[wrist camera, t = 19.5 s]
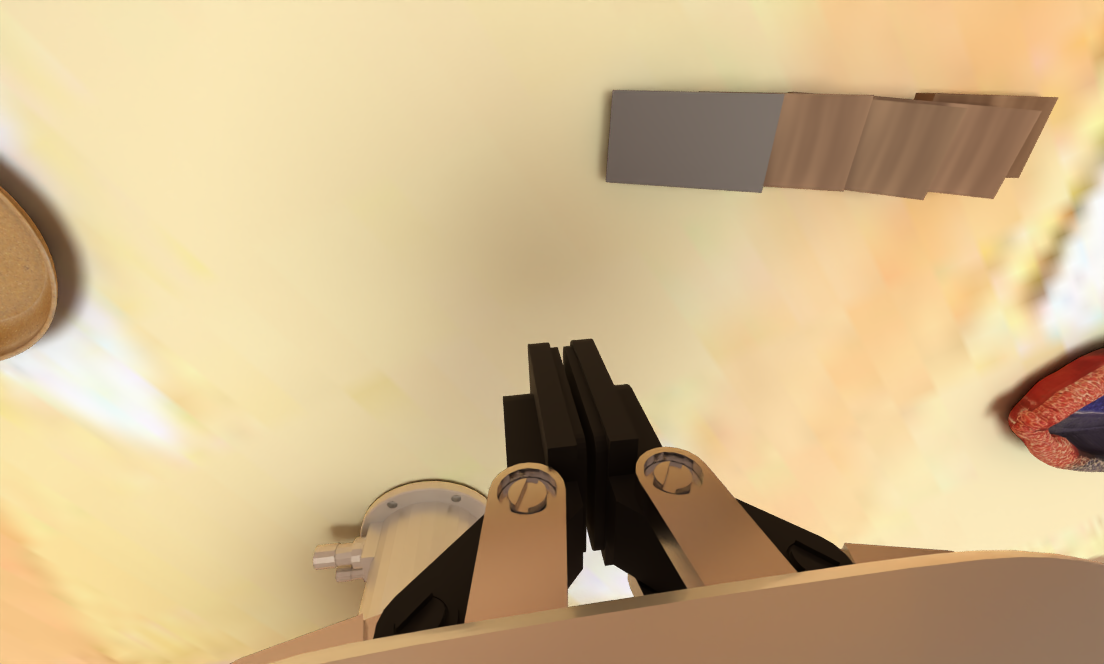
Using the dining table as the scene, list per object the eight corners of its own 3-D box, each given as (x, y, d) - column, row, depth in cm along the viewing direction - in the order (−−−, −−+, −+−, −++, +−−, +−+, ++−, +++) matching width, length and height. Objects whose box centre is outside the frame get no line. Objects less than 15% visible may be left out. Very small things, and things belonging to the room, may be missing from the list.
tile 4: (841, 181, 29) (993, 198, 28) (874, 96, 27) (1042, 111, 26) (831, 177, 31) (973, 192, 30) (861, 96, 29) (1017, 110, 27)
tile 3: (766, 179, 29) (923, 200, 27) (793, 92, 26) (967, 108, 25) (762, 175, 30) (909, 194, 29) (787, 92, 28) (949, 107, 26)
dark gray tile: (605, 182, 28) (761, 192, 26) (612, 90, 25) (784, 93, 23) (610, 177, 29) (756, 186, 27) (617, 90, 27) (778, 94, 25)
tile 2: (685, 181, 28) (843, 191, 26) (699, 91, 26) (873, 95, 24) (685, 176, 30) (833, 185, 28) (698, 91, 28) (861, 95, 26)
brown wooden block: (903, 176, 30) (1018, 177, 31) (935, 93, 28) (1058, 97, 29) (881, 172, 32) (990, 173, 33) (909, 93, 30) (1026, 97, 31)
